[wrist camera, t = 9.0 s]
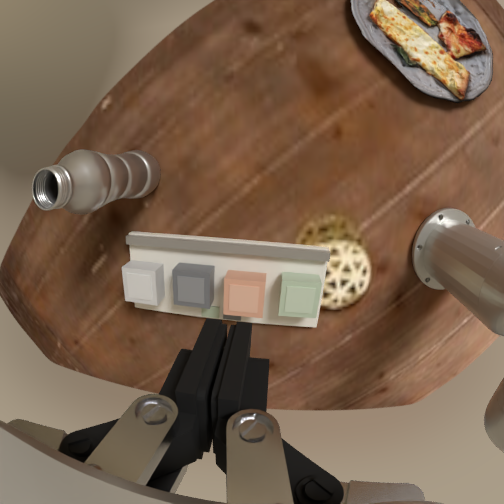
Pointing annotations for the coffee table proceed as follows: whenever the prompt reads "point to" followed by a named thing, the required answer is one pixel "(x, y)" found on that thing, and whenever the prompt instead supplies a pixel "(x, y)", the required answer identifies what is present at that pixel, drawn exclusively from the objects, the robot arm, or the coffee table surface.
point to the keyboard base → (230, 258)
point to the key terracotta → (244, 293)
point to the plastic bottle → (94, 180)
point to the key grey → (143, 282)
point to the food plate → (430, 45)
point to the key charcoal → (193, 285)
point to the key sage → (299, 295)
